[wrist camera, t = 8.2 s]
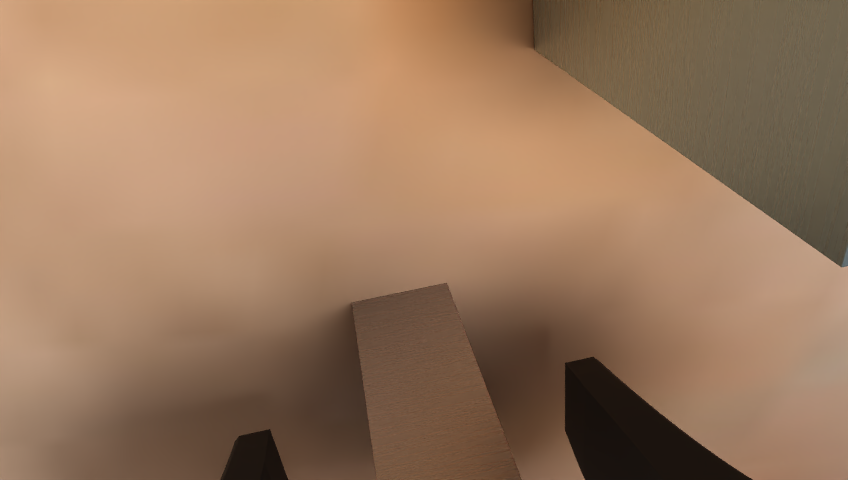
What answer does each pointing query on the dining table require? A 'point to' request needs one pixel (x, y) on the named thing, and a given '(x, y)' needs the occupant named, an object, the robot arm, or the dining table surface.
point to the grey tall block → (427, 392)
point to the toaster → (727, 93)
